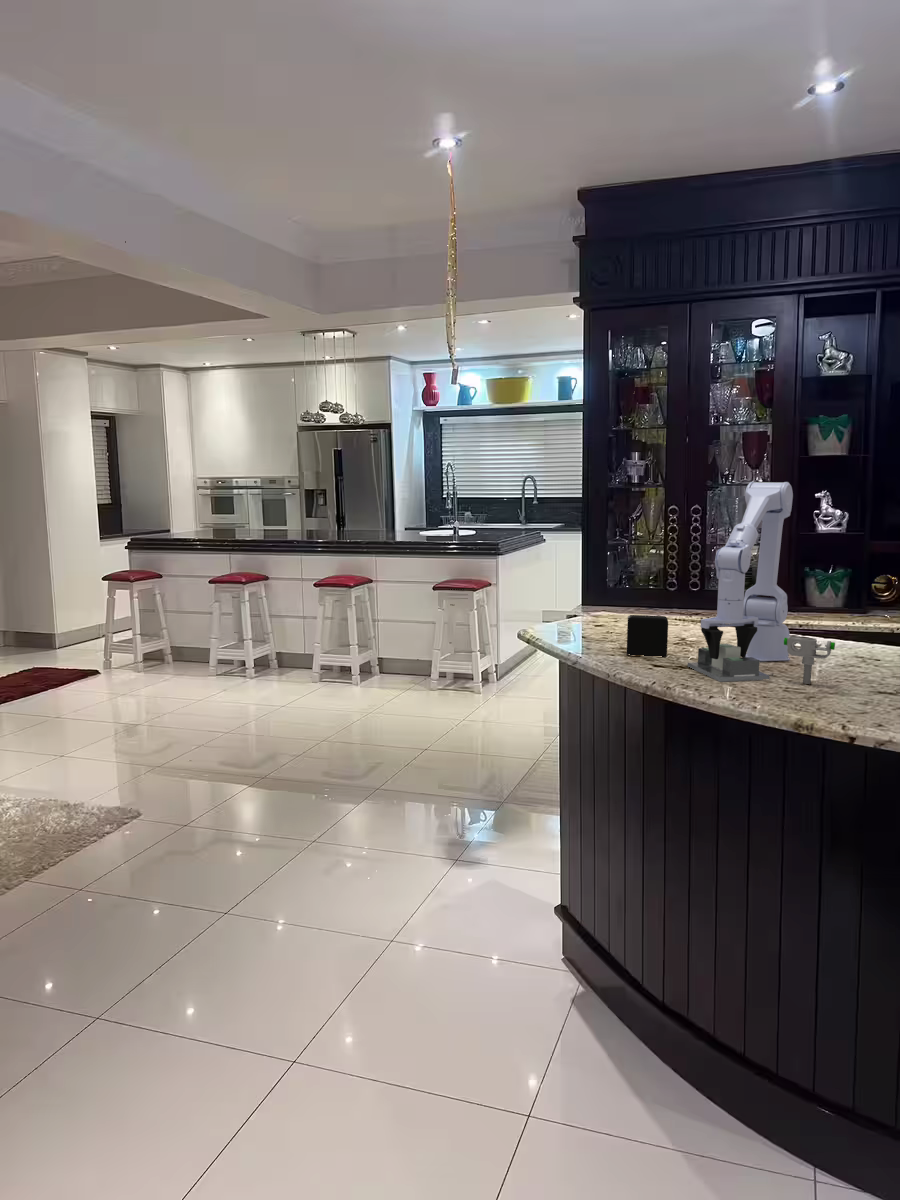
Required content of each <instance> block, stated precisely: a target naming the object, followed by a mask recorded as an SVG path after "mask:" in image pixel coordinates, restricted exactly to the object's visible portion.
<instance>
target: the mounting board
mask: <svg viewBox="0 0 900 1200" xmlns="http://www.w3.org/2000/svg"><path fill="white" fill-rule="evenodd" d="M697 651H698V652H697V661H694V662H687V668H689V667H690V669H691V668H692V670H693V669H694V670H693V671H696V672H698V673H700V674H702V673H703V674H702V675H704V674H705V675H704V676H706V675H707V676H706V677H709V678H711V679H712V680H715V681H718V682H719V683H721V682H722V683H723V682H747V681H748V682H749V681H750V680H751V681H764V680H763V679H769V680H770V679H771V678H770V676H771V675H769V674H767V673H765V672H763V671H760V663H761V661H760V660H758V659H755V658H752V657H740V658H738V657H730V658H723V669H721V668H718V667H715V666H712V658H710V653H709V648H708V646H707V647H698V650H697Z"/></svg>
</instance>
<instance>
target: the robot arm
mask: <svg viewBox="0 0 900 1200" xmlns="http://www.w3.org/2000/svg"><path fill="white" fill-rule="evenodd" d="M793 492H794V491H793V487H792V485H791V484H790V482H789V481H784V482H772V481H771V482H762V481H761V482H756V481H750V482H749V483H748V484H747V486H746V488H745V492H744V501H745V504H746V507H745V508H746V509H745V510H744V511H745V512H744V514H743V517H742V520H741V522H740V523H737V524H735V525H734V527H733V528H732V531H731V533H730V535H729V537H728V539H727V541H726V543H725V546H722V547H721V548H719V549H717V551H716V553H715V559H714V566H715V567H714V568H715V571H716V579H718V584H717V585H718V586H717V609H716V616H715V617H713V616H712V617H709V618H708V617H707V618H700V628H701V630H700V631H701V633H702V634H703V638H704V639H705V641H706V645H707V647H708V648H709V653H710V658H713V659H718V657H719V648H720V644H721V640H722V637H723V634H724V631H723V630H721V629H720V628H727V627H734V629H735V634H736V646H738V647H741V651H740V658H742V657H752V658H755V659H758V660H760V662H778V661H779V662H781V661H782V662H783V661H791V658H789V655H790V654H789V653H788V651H787V649H788V646H787V645H784V638H788V637H791V636H790V635H791V634H790V630H789V628H788V626H787V625H786V624H785V623H784V622H785V621H786V619H787V617H788V612H789V611H788V608H789V607H788V594H787V592H785V591H784V590H783V588H781V587H780V586H778V584H777V583H778V575H779V574H778V573H779V563H780V555H781V554H780V553H781V545H782V544H781V543H782V536H783V535H782V534H783V525H784V520H785V519H787V518H788V517H790V516H791V512H792V508H793V507H792V506H793V499H794V493H793ZM761 522H762V523H761ZM760 524H761V530H760V531H761V533H760V540H759V541H760V542H759V552H758V561H757V568H756V569H757V571H756V581H755V584H754V585H752V586H751V587H749V588H748V589H747V590H745V583H746V582H745V581H746V573H747V572H748V570H749V569H750V565H751V559H752V555H753V554H752V551H753V550H752V549H753V548H754V545H755V544H756V541H757V539H758V538H759V537H758V536H759V533H758V530H757V529H758V527H759V525H760ZM761 596H763V597H761ZM764 596H768V597H764ZM769 596H770V597H769Z"/></svg>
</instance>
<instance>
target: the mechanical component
mask: <svg viewBox="0 0 900 1200" xmlns="http://www.w3.org/2000/svg"><path fill="white" fill-rule="evenodd" d="M797 644H799V645H800V648H797V647H796V645H797ZM784 645H787V646H788V649H787V651H788V653H789V655H790V656H793V657H794V656H795V657H801V658H802V661H801V664H802V665H803V675H802V676H803V677H802V679H803V680H802V683H805V684H804V685H806V684H809V685H810V684H811V683H812V682H811V681H812V668H813V665H815V659H823V660H824V659H826V658H828V657H830V655H831V653H832V650H833V651H835V648H836V642H833V641H832V640H827V642H826V644H824V647H823V646H819V645H820V644H819V643H818V641H817V639H816V638H813V637H812V638H810V637H801V636H790V637H788V638H784ZM817 651H823V652H826V653H827V654H818V653H817Z"/></svg>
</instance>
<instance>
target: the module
mask: <svg viewBox="0 0 900 1200" xmlns="http://www.w3.org/2000/svg"><path fill="white" fill-rule="evenodd" d="M740 651H741V647H738V646H737V645H733V644H730V643H720V648H719V657H718V659H713V658H712V666H715V667H718V668H721V669H723V658H730V657H738V658H741V656H740Z"/></svg>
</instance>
